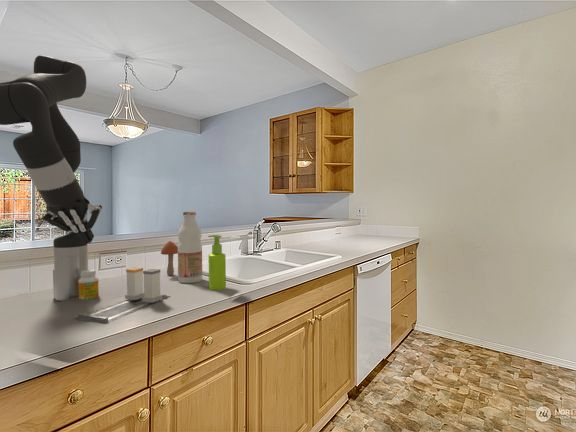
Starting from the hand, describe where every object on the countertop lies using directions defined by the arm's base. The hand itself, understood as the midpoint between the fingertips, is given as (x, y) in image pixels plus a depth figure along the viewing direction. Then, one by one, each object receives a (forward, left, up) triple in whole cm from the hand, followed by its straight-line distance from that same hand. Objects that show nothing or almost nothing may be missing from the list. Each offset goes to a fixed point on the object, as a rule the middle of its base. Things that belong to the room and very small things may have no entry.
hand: (88, 241), depth 77 cm
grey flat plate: (-1, +12, -22) cm, 25 cm away
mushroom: (-20, +53, -22) cm, 61 cm away
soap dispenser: (+13, +38, -22) cm, 45 cm away
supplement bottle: (-20, +15, -22) cm, 33 cm away
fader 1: (-4, +18, -20) cm, 28 cm away
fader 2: (+3, +18, -20) cm, 27 cm away
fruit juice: (-5, +47, -22) cm, 52 cm away
